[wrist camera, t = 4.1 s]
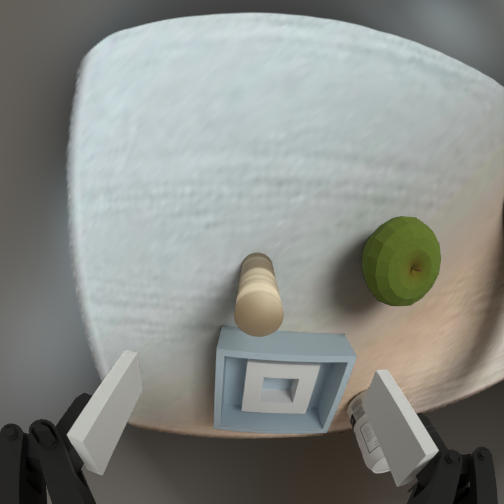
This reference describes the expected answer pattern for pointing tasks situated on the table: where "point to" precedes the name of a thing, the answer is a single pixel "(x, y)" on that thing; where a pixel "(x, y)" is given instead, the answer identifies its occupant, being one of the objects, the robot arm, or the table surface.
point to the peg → (258, 297)
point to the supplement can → (366, 436)
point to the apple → (401, 261)
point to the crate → (280, 381)
